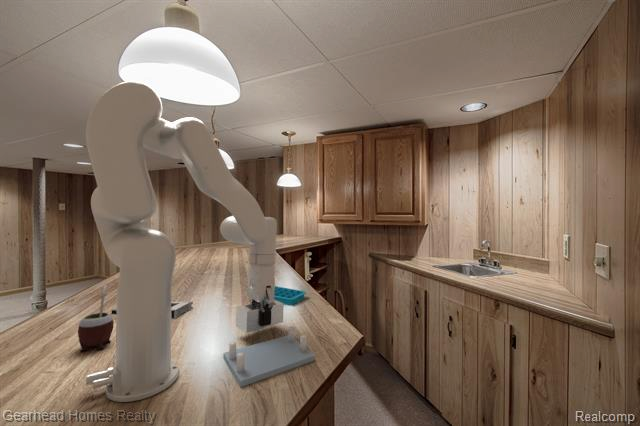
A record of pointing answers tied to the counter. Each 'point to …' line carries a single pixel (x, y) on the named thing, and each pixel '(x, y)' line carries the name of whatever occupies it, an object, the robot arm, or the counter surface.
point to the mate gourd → (95, 329)
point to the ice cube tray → (288, 295)
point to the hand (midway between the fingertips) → (260, 320)
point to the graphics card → (173, 308)
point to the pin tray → (267, 358)
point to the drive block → (257, 316)
